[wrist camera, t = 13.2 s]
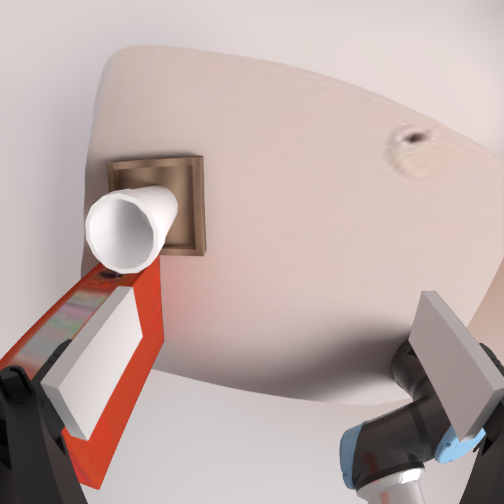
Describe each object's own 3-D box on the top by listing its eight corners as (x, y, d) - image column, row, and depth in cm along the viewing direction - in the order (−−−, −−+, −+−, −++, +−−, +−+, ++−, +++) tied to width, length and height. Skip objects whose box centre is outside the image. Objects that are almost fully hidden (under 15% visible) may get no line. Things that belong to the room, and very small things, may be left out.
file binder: (124, 332, 55) (47, 468, 25) (114, 247, 48) (-14, 375, 19) (164, 339, 55) (101, 491, 25) (159, 252, 48) (48, 404, 18)
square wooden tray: (203, 156, 42) (199, 158, 40) (206, 249, 47) (203, 256, 45) (114, 161, 43) (106, 163, 41) (123, 247, 48) (116, 253, 46)
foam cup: (151, 247, 47) (116, 286, 35) (118, 198, 44) (72, 223, 32) (200, 215, 45) (175, 248, 33) (165, 162, 42) (127, 176, 30)
